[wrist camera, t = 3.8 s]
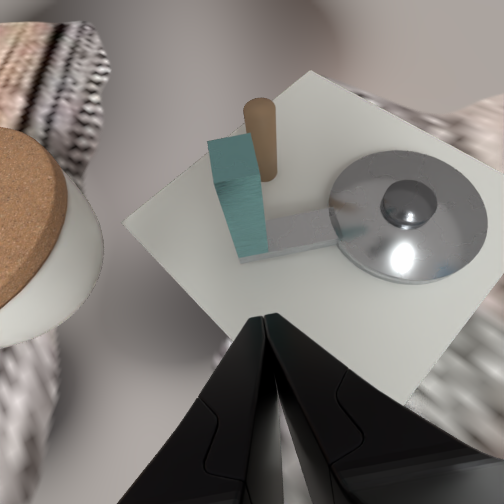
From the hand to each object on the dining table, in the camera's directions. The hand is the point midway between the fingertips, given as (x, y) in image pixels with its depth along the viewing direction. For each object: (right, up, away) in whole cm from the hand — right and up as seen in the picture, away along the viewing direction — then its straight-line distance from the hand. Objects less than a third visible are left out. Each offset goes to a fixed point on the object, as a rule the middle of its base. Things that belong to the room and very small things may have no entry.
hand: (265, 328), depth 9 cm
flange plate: (+7, +4, +13) cm, 15 cm away
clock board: (+5, +4, +15) cm, 16 cm away
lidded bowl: (-16, 0, +15) cm, 22 cm away
